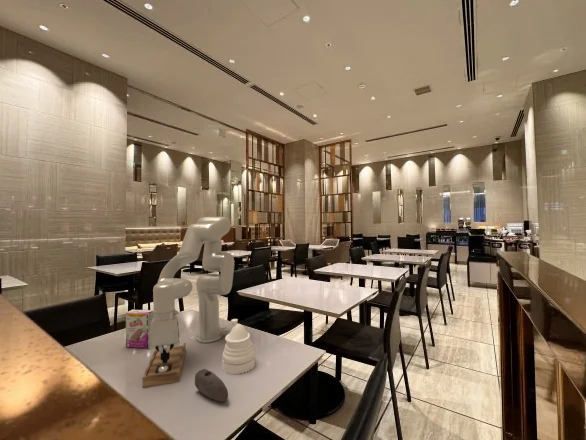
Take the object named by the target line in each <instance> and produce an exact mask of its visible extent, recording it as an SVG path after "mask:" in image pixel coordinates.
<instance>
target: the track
mask: <svg viewBox="0 0 586 440" xmlns="http://www.w3.org/2000/svg"><path fill="white" fill-rule="evenodd" d="M166 348H167V347H164V349H165V350H166ZM186 351H187V344H186V342H183V344H182V345H178V346H174V347H173V348H172V349H171V350H170V358H169V359H168V361H167V363H163V364H162V360H161V353H159V351H158V350H156V349H154V351H153V353H152V355H151V357H150V360H149V363H148V365H147V367H146V368H145V372H144V373H143V376H142V388H147V387H148V388H149V387H154V386H161V385H165V384H172V383H179V382H180V380H179V379H181V374H182V369H183V366H184V365H183V364H184V361H185V357H186ZM162 365H166V366H168V368H169V372H163V373H157V371H158V368H159V367H160V366H162Z"/></svg>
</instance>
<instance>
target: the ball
mask: <svg viewBox="0 0 586 440" xmlns="http://www.w3.org/2000/svg"><path fill="white" fill-rule="evenodd" d="M163 372H170V371H169V368H168V366H166V365H162V366H160V367H159V368H158V371H157V373H163Z"/></svg>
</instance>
